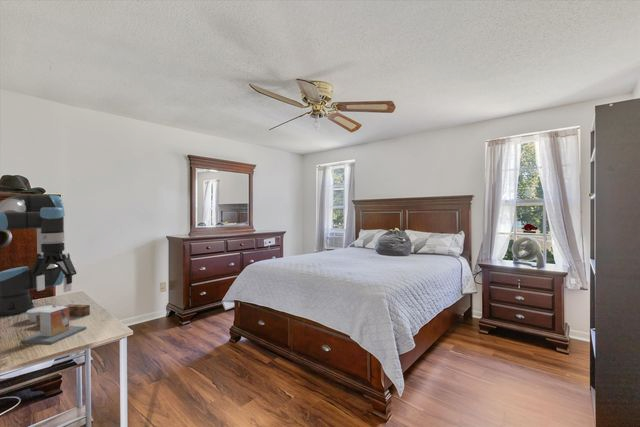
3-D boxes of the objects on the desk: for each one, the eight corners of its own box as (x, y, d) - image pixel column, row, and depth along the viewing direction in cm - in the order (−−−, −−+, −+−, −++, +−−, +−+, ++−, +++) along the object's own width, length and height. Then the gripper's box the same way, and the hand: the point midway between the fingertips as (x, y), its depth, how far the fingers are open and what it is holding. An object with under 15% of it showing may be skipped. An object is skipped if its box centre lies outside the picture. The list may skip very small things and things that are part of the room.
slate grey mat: (21, 342, 121) (21, 339, 121) (58, 327, 136) (58, 325, 136) (52, 344, 119) (52, 341, 119) (86, 328, 134) (86, 326, 134)
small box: (50, 337, 123) (50, 312, 123) (40, 336, 124) (39, 312, 124) (70, 329, 131) (69, 306, 131) (59, 328, 132) (59, 305, 132)
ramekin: (59, 317, 148) (59, 307, 148) (29, 325, 139) (29, 314, 139) (54, 313, 155) (53, 303, 155) (24, 320, 146) (24, 309, 146)
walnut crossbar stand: (36, 325, 138) (36, 315, 138) (70, 313, 154) (69, 304, 154) (58, 326, 136) (58, 316, 136) (89, 314, 152) (89, 305, 152)
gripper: (18, 243, 125) (20, 292, 125) (69, 244, 121) (70, 294, 122) (37, 241, 132) (39, 287, 133) (85, 241, 129) (87, 289, 129)
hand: (54, 290), depth 127 cm, fingers open, 13 cm apart
